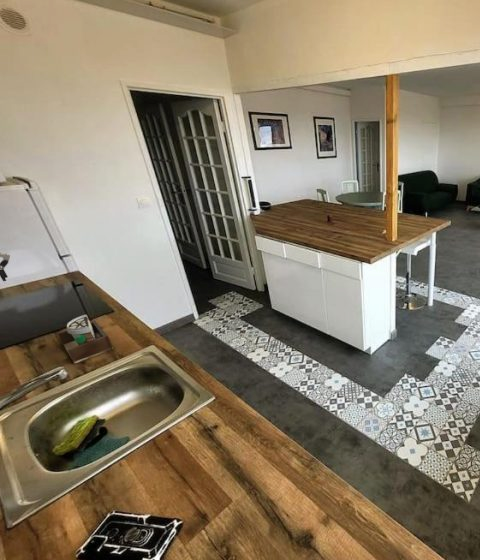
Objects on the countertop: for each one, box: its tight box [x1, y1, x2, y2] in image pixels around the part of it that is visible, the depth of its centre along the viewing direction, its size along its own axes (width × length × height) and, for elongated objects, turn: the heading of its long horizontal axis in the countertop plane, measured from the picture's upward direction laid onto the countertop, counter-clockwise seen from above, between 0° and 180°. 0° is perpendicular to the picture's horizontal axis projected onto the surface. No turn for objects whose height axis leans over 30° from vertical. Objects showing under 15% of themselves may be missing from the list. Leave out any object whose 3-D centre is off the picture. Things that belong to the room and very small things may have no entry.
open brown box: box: [57, 320, 114, 364], centre depth 117 cm, size 11×17×6 cm, turn 53°
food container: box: [66, 314, 97, 345], centre depth 115 cm, size 12×6×10 cm, turn 45°
